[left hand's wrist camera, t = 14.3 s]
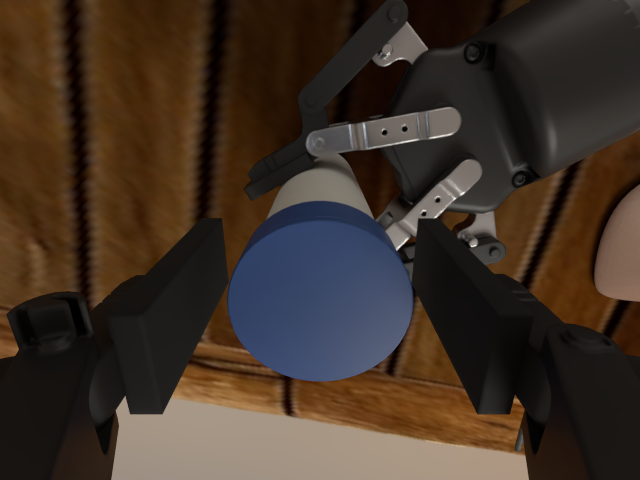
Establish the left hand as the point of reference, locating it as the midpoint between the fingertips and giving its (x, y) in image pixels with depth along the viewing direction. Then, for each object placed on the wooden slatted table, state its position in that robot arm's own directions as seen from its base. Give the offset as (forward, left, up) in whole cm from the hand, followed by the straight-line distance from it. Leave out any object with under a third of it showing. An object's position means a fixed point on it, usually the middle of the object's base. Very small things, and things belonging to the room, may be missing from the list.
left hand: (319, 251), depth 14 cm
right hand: (+2, -2, -6) cm, 6 cm away
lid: (0, 0, +4) cm, 4 cm away
